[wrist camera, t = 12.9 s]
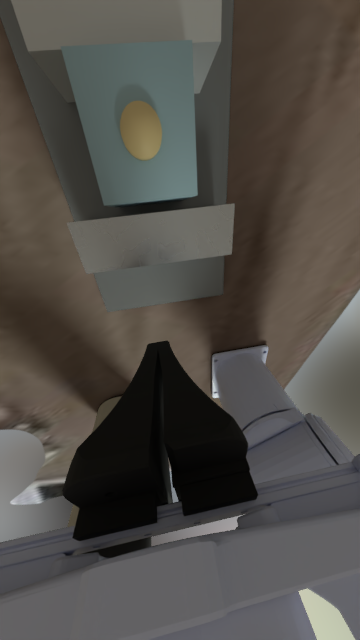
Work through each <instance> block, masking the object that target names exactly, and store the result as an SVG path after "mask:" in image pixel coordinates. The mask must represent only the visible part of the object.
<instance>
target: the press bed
mask: <svg viewBox="0 0 360 640" xmlns="http://www.w3.org/2000/svg"><path fill="white" fill-rule="evenodd" d="M233 7H234V0H0V18H1V21H2V23H3V26H4V29H5V32H6V34H7V37H8V40H9V43H10V45H11V48H12V51H13V54H14V56H15V59H16V62H17V65H18V67H19V70H20V73H21V76H22V78H23V81H24V84H25V87H26V89H27V92H28V95H29V98H30V100H31V103H32V106H33V109H34V111H35V114H36V117H37V120H38V122H39V125H40V128H41V131H42V133H43V136H44V139H45V142H46V144H47V147H48V150H49V153H50V155H51V158H52V161H53V163H54V166H55V169H56V172H57V174H58V177H59V180H60V183H61V185H62V188H63V191H64V194H65V196H66V199H67V202H68V205H69V207H70V210H71V213H72V216H73V218H74V221H75V222H76V221H84V220H91V219H100V218H109V217H117V216H126V215H135V214H143V213H152V212H161V211H169V210H178V209H187V208H195V207H204V206H213V205H223V204H226V200H227V172H228V145H229V117H230V90H231V62H232V35H233ZM180 40H192V48H193V77H194V105H195V133H196V161H197V190H198V195H197V196H194V197H191V198H188V199H185V200H180V201H171V202H162V203H153V204H144V205H135V206H127V207H111V206H104V203H103V200H102V196H101V192H100V189H99V185H98V182H97V178H96V174H95V171H94V167H93V163H92V160H91V156H90V152H89V149H88V145H87V141H86V138H85V134H84V131H83V127H82V123H81V120H80V116H79V112H78V109H77V105H76V101H75V98H74V94H73V90H72V87H71V83H70V79H69V76H68V72H67V69H66V65H65V61H64V58H63V54H62V50H61V47H60V46H79V45H99V44H119V43H140V42H160V41H180ZM94 276H95V279H96V282H97V284H98V287H99V290H100V293H101V295H102V298H103V301H104V304H105V306H106V309H107V312H111V311H118V310H125V309H131V308H138V307H144V306H151V305H158V304H164V303H171V302H177V301H184V300H191V299H197V298H204V297H210V296H217V295H223V282H224V255H223V256H216V257H209V258H201V259H194V260H186V261H179V262H172V263H164V264H157V265H150V266H142V267H135V268H128V269H120V270H113V271H105V272H98V273H94Z"/></svg>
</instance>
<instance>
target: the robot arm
mask: <svg viewBox="0 0 360 640" xmlns="http://www.w3.org/2000/svg"><path fill="white" fill-rule="evenodd" d="M268 349H269V348H268V346H267V345H262V346H257V347H251V348H245V349H239V350H234V351H228V352H222V353H217V354H213V355H212V397H213V398H219V399H220V402H221V405H222V407H223V409H222V408H221V407H220V406H218V405H217V404H216V403H215V402H214V401H213V400H211V399H210V398H209V397H208V396H207V395H206V394H205V393H204V392H203V391H202V390H201V389H200V388H199V387H198V386H197V385H196V384H195V383H194V382H193V381H192V379H191V378H190V377H189V376H188V374H187V373H186V372H185V371H184V369H183V368H182V366H181V365H180V363H179V362H178V360H177V359H176V357H175V355H174V353H173V351H172V349H171V347H170V344H169V342H168V341H162V342H156V343H150V344H148V345H147V349H146V352H145V354H144V357H143V359H142V361H141V364H140V366H139V368H138V370H137V372H136V374H135V376H134V378H133V379H132V381H131V383H130V385H129V386H128V388H127V389H126V391H125V393H124V394H123V395H122V397H121V398H120V400H119V401H118V403H117V404H116V405H115V407H114V408H113V409H112V410H111V412H110V413H109V414H108V415H107V417H106V418H105V419H104V420H103V421H102V423H101V424H100V425H99V426H98V427H97V428H96V429H95V430H94V431H93V433H92V434H91V435H90V436H89V437H88V438H87V439H86V440H85V441H84V442H83V443H82V444H81V445H80V446H79V447H78V448H77V450H76V453H75V455H74V458H73V460H72V462H71V465H70V468H69V471H68V474H67V477H66V481H65V484H64V487H63V490H62V491H63V496H64V497H65V498H66V499H67V500H68V501H70V502H71V503H73V504H74V505H75V506H77V507H78V508H79V512H78V516H77V520H76V524H75V526H70V527H66V528H62V529H57V530H53V531H49V532H44V533H40V534H35V535H31V536H27V537H23V538H19V539H14V540H9V541H5V542H1V543H0V640H317V639H316V636H315V633H314V631H313V628H312V626H311V623H310V621H309V618H308V616H307V613H306V610H305V608H304V605H303V603H302V600H301V597H300V595H299V592H298V591H300V590H303V589H306V588H308V589H309V590H311V591H313V592H314V593H316V594H317V595H319V596H320V597H322V598H324V599H325V600H326V601H328V602H329V603H331V604H332V605H333V606H335V607H336V608H337V609H338V610H339V611H340V613H341V615H342V616H343V618H344V620H345V622H346V623H347V625H348V627H349V629H350V631H351V632H352V634H353V636H354V638H355V639H356V640H360V454H358V455H357V456H354V455H353V454H352V453H351V451H350V450H349V449H348V448H347V447H346V445H345V444H344V443H343V442H342V441H341V440H340V438H339V437H338V436H337V435H336V434H335V433H334V432H333V430H332V429H331V428H330V427H329V426H328V425H327V424H326V422H325V421H324V420H323V419H322V418H321V417H320V416H317V415H313V414H312V413H308V414H306V415H305V416H304V415H303V414H302V413H301V412H300V411H299V409H298V408H297V407H296V405H295V404H294V403H293V401H292V400H291V399H290V397H289V396H288V395H287V393H286V392H285V391H284V389H283V388H282V387H281V385H280V384H279V383H278V381H277V380H276V379H275V377H274V376H273V374H272V373H271V372H270V370H269V369H268V368H267V366H266V365H265V362H266V358H267V353H268ZM168 458H169V461H170V464H171V472H172V484H173V487H174V488H175V491H176V494H177V497H178V500H179V502H175V503H173V500H172V492H171V483H170V472H169V462H168ZM243 514H245V515H243ZM239 515H243V516H240V517H238V519H237V522H238V527H237V528H236V529H235V530H231V531H225V532H219V533H213V534H207V535H202V536H197V537H191V538H187V539H182V540H177V541H173V542H168V543H164V544H160V545H156V546H152V547H148V548H144V549H140V550H137V551H133V552H129V553H126V554H122V555H119V556H116V557H113V558H105V557H102V556H100V555H99V553H98V552H96V553H88V554H81V553H85V552H90V551H94V550H98V549H102V548H106V547H110V546H114V545H119V544H123V543H127V542H131V541H135V540H139V539H144V538H148V537H152V536H156V535H160V534H164V533H168V532H173V531H177V530H181V529H185V528H189V527H193V526H197V525H201V524H206V523H210V522H214V521H218V520H222V519H227V518H231V517H235V516H239ZM77 554H79V555H77Z"/></svg>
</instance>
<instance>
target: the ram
mask: <svg viewBox="0 0 360 640" xmlns="http://www.w3.org/2000/svg"><path fill="white" fill-rule="evenodd" d="M234 208H235V203H234V204H223V205H213V206H204V207H195V208H187V209H178V210H169V211H161V212H152V213H143V214H135V215H126V216H117V217H109V218H100V219H91V220H84V221H76V222H69V223H67V225H68V228H69V230H70V233H71V235H72V238H73V241H74V243H75V246H76V248H77V251H78V254H79V256H80V259H81V261H82V264H83V266H84V269H85V272H86V274H91V273H98V272H105V271H113V270H120V269H128V268H135V267H142V266H150V265H157V264H164V263H172V262H179V261H186V260H194V259H201V258H209V257H216V256H223V255H231V254H232V243H233V226H234Z"/></svg>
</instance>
